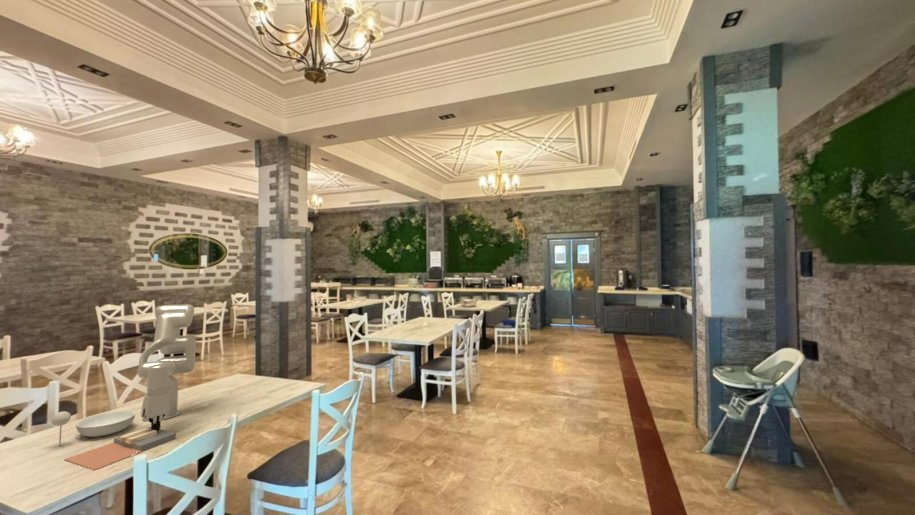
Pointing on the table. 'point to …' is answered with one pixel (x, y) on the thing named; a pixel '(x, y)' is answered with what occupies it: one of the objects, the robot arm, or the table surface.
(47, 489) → the table surface
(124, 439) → the slatted wooden pallet
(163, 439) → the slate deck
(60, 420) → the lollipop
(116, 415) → the serving bowl
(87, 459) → the rust mat
